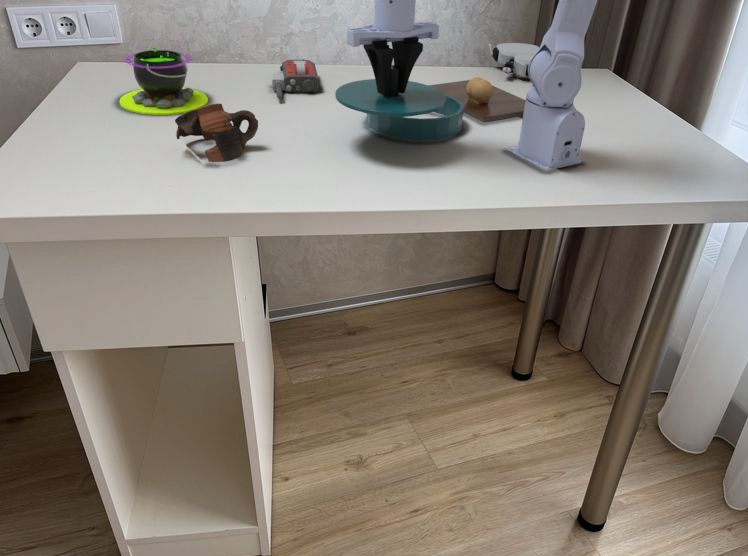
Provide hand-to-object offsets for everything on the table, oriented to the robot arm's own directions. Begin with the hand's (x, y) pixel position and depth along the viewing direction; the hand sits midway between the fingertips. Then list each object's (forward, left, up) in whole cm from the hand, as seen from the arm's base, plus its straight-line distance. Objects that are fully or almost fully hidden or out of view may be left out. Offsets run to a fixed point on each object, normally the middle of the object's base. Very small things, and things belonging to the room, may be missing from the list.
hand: (391, 92), depth 105 cm
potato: (+12, -27, -8) cm, 30 cm away
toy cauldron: (+37, +24, -9) cm, 45 cm away
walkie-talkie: (+34, 0, -9) cm, 36 cm away
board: (+14, -29, -9) cm, 33 cm away
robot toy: (+28, -51, -9) cm, 58 cm away
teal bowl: (+8, -10, -9) cm, 15 cm away
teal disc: (0, 0, -1) cm, 1 cm away
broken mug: (+10, +24, -9) cm, 28 cm away
